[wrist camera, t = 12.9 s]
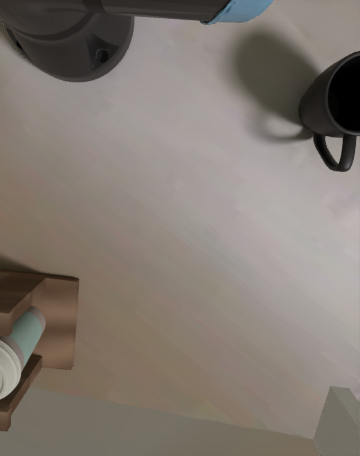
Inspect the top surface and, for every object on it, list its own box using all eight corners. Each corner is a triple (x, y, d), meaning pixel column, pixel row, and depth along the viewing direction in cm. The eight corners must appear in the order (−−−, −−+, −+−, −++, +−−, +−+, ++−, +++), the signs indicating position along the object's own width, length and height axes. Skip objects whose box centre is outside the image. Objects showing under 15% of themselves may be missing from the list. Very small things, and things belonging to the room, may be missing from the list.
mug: (278, 166, 41) (308, 167, 32) (294, 72, 38) (333, 44, 29) (335, 172, 41) (382, 176, 32) (356, 79, 39) (413, 54, 29)
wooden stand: (-17, 264, 43) (-87, 302, 32) (79, 276, 44) (45, 317, 32) (-17, 358, 47) (-79, 423, 35) (72, 367, 47) (40, 434, 36)
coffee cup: (-7, 295, 43) (-75, 346, 31) (51, 295, 43) (6, 344, 32) (1, 347, 45) (-59, 412, 33) (57, 346, 45) (17, 411, 34)
